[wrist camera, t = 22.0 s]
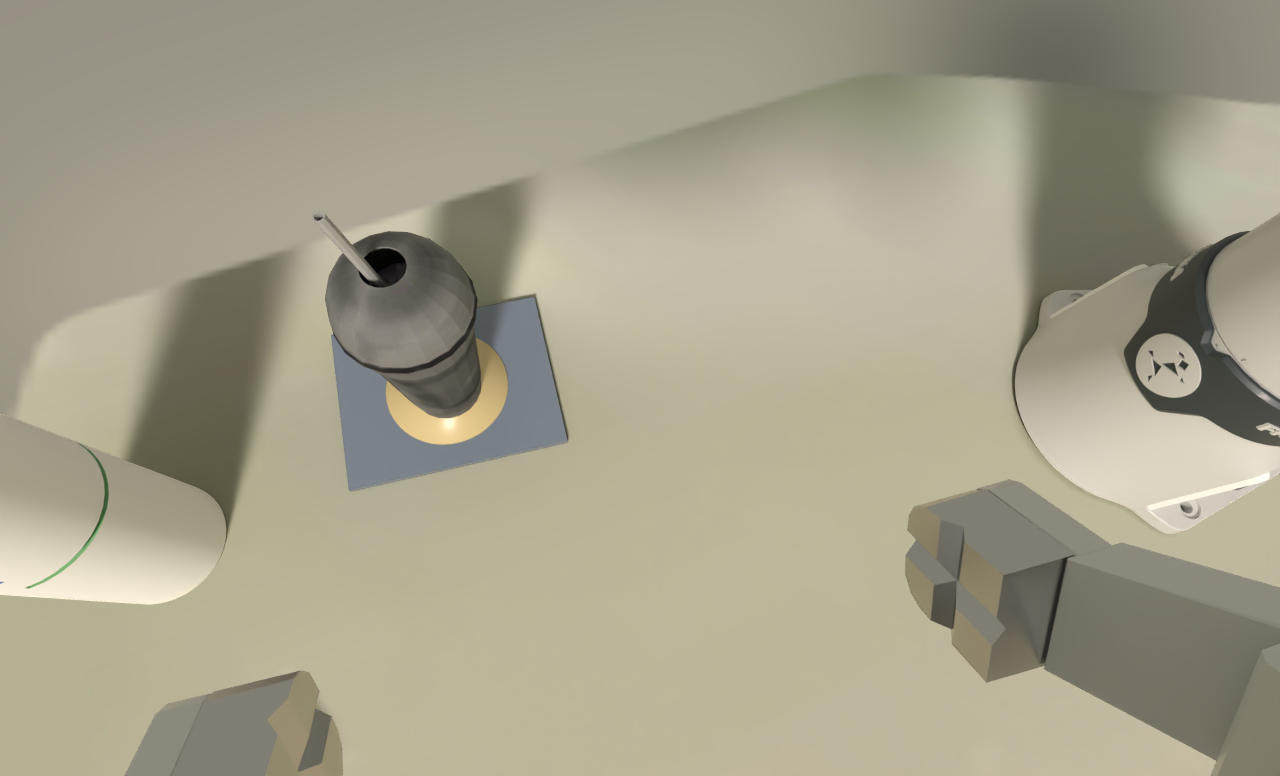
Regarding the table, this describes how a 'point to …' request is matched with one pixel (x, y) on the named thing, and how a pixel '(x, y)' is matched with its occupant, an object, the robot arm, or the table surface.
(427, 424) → the card
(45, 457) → the cylindrical container
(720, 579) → the table surface
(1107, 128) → the table surface
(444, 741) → the table surface
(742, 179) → the table surface
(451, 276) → the beverage cup
